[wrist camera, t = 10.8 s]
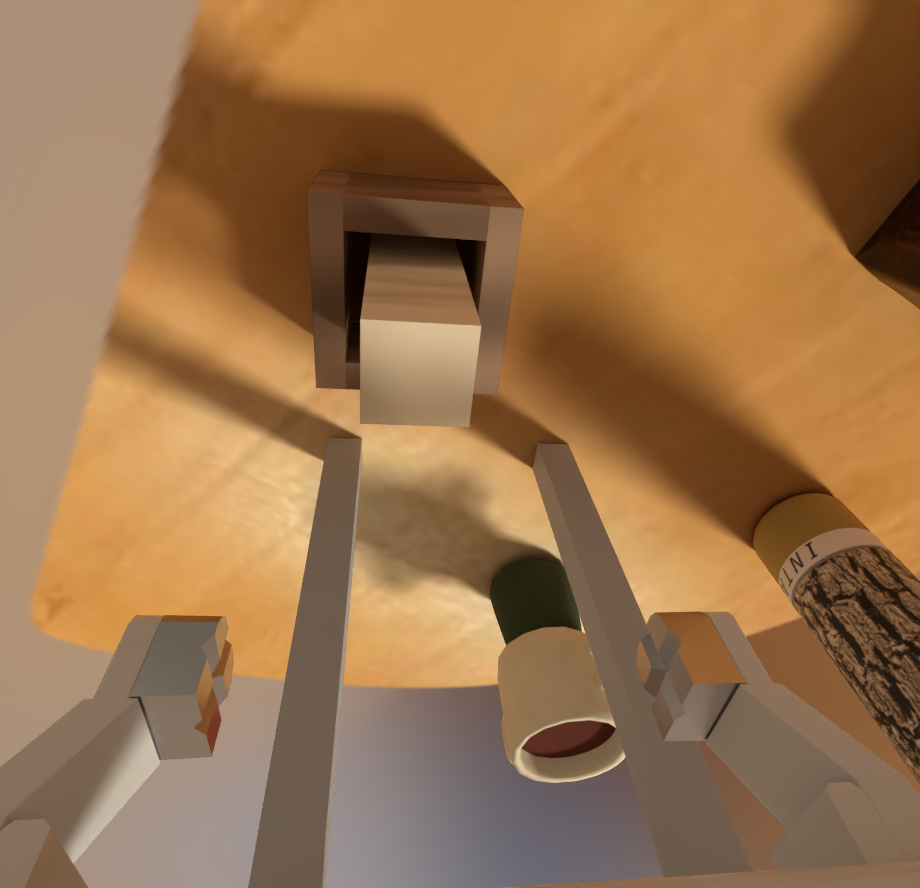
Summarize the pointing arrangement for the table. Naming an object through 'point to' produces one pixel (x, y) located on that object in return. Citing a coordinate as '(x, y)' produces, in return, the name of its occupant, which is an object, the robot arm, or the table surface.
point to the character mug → (549, 679)
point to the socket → (416, 214)
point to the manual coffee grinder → (898, 249)
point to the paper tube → (852, 606)
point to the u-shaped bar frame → (613, 648)
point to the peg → (417, 334)
